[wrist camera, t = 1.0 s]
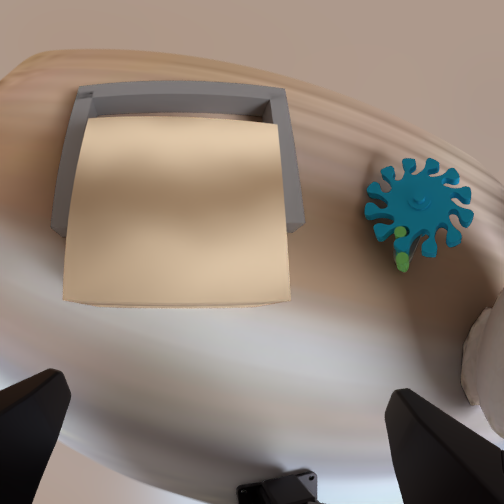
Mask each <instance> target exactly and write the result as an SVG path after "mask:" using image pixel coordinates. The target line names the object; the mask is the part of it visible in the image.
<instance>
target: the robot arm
mask: <svg viewBox="0 0 504 504" xmlns="http://www.w3.org/2000/svg"><path fill="white" fill-rule="evenodd" d="M70 400H71V392H70V389H69V387H68V384H67V382H66V379H65V376H64V374H63V373H62V372H61V371H59V370H56V369H51V368H50V369H47V370H45V371H42V372H40V373H38V374H36V375H34V376H32V377H29V378H27V379H25V380H23V381H21V382H18V383H16V384H14V385H12V386H10V387H7V388H5V389H3V390H1V391H0V504H32V502H33V499H34V497H35V494H36V491H37V489H38V486H39V483H40V480H41V478H42V476H43V473H44V471H45V468H46V466H47V463H48V461H49V458H50V456H51V453H52V451H53V449H54V447H55V444H56V442H57V439H58V436H59V433H60V430H61V427H62V424H63V421H64V418H65V415H66V412H67V409H68V406H69V403H70ZM385 423H386V428H387V433H388V439H389V444H390V450H391V456H392V462H393V466H394V470H395V474H396V477H397V481H398V484H399V488H400V492H401V495H402V499H403V503H404V504H504V450H501V449H500V448H499V447H497V446H496V445H494V444H492V443H491V442H489V441H488V440H486V439H485V438H483V437H482V436H480V435H478V434H477V433H475V432H474V431H472V430H471V429H469V428H468V427H466V426H465V425H463V424H462V423H460V422H458V421H457V420H455V419H454V418H452V417H451V416H449V415H448V414H446V413H445V412H443V411H442V410H440V409H439V408H437V407H436V406H434V405H433V404H431V403H430V402H428V401H427V400H425V399H424V398H422V397H421V396H419V395H418V394H416V393H415V392H413V391H412V390H410V389H408V388H405V389H398V390H395V391H394V392H393V393H392V395H391V398H390V401H389V403H388V406H387V408H386V411H385ZM310 476H312V477H311V478H310V479H309V477H310ZM242 490H246V491H245V492H241V491H242ZM236 493H237V501H238V504H324V503H320V502H319V501H318V500H317V475H316V474H315V473H314V472H312V471H310V472H306V473H302V474H298V475H290V476H285V477H281V478H276V479H271V480H265V481H263V482H259V483H253V484H247V485H241V486H239V487H238V488H237V489H236Z"/></svg>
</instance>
